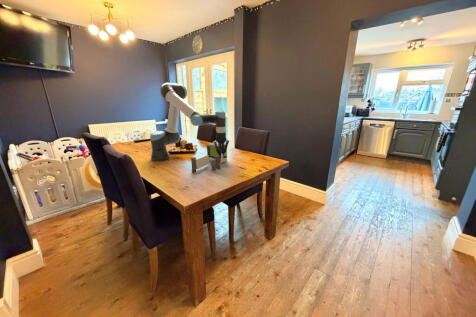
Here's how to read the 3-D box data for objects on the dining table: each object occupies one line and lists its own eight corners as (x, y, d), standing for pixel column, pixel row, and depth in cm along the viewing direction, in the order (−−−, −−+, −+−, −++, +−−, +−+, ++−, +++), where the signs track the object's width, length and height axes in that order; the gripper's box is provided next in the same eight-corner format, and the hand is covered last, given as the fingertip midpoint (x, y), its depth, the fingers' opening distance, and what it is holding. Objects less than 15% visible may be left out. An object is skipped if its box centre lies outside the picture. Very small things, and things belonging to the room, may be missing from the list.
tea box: (227, 161, 161) (227, 144, 156) (218, 164, 154) (217, 146, 150) (216, 157, 171) (215, 141, 167) (207, 160, 164) (206, 143, 160)
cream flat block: (197, 169, 139) (196, 159, 136) (195, 168, 139) (194, 159, 137) (208, 164, 150) (208, 154, 148) (206, 163, 151) (206, 154, 149)
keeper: (211, 170, 141) (210, 159, 139) (215, 169, 142) (215, 159, 140) (211, 170, 140) (211, 160, 138) (216, 170, 141) (215, 159, 139)
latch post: (215, 168, 145) (215, 155, 142) (219, 167, 146) (219, 155, 143) (217, 169, 142) (216, 156, 139) (220, 169, 143) (220, 156, 141)
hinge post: (191, 171, 138) (190, 157, 135) (196, 171, 140) (195, 156, 136) (192, 173, 135) (191, 158, 132) (197, 172, 136) (196, 158, 133)
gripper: (214, 133, 141) (215, 163, 148) (230, 132, 146) (230, 161, 153) (211, 131, 147) (212, 160, 154) (227, 130, 152) (227, 159, 159)
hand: (221, 161), depth 154 cm, fingers closed
